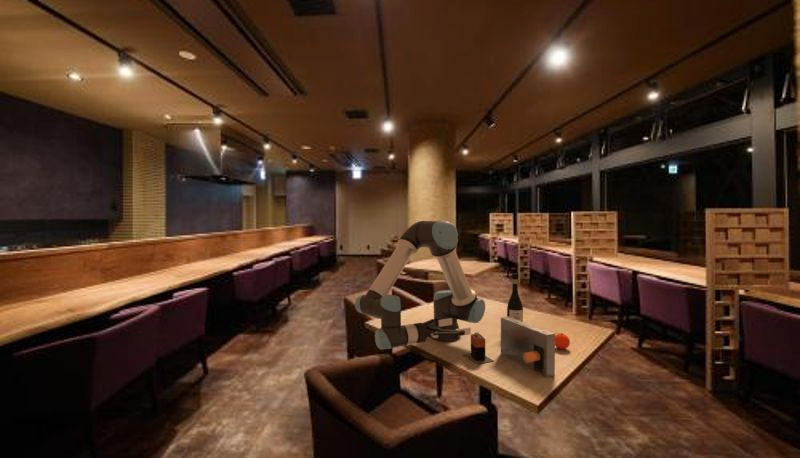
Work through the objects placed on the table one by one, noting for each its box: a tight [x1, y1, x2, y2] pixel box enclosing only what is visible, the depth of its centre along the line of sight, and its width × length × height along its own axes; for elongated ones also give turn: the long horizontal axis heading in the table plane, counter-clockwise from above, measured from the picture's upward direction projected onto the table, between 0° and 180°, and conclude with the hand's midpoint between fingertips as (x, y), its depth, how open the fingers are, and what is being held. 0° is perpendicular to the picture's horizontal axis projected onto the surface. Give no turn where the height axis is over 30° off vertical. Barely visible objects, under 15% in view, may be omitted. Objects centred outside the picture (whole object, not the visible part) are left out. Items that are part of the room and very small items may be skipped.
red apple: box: [555, 332, 571, 350], centre depth 165 cm, size 8×7×7 cm
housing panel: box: [500, 316, 556, 379], centre depth 148 cm, size 26×4×16 cm, turn 24°
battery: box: [470, 331, 486, 361], centre depth 154 cm, size 4×7×10 cm, turn 7°
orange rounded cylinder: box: [523, 351, 540, 363], centre depth 137 cm, size 4×5×4 cm
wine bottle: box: [506, 272, 524, 322], centre depth 192 cm, size 8×8×30 cm
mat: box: [462, 352, 494, 366], centre depth 154 cm, size 11×8×1 cm
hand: (460, 325), depth 150 cm, fingers open, 13 cm apart
